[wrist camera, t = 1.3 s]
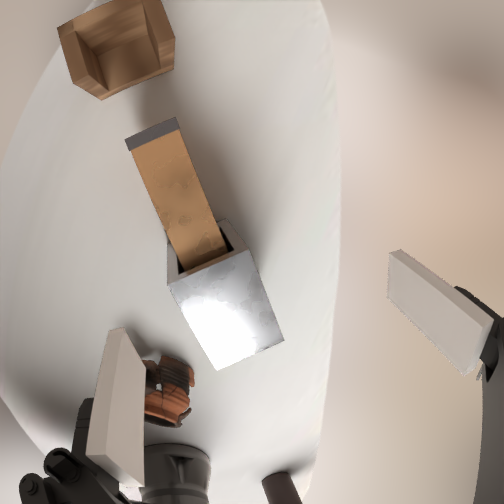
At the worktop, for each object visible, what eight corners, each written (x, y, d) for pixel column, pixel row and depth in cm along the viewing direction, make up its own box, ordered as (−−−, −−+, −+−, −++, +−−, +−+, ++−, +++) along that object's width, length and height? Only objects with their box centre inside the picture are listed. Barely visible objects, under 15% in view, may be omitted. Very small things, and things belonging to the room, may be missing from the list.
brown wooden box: (101, 100, 26) (72, 83, 16) (87, 58, 23) (56, 27, 14) (173, 69, 26) (175, 37, 17) (157, 27, 24) (154, -15, 15)
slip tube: (211, 310, 34) (220, 342, 29) (134, 140, 26) (124, 139, 21) (245, 295, 35) (260, 324, 29) (174, 122, 26) (175, 117, 21)
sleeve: (203, 315, 37) (216, 370, 27) (167, 244, 33) (167, 285, 23) (256, 292, 37) (284, 340, 28) (226, 218, 33) (249, 249, 24)
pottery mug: (209, 380, 41) (199, 433, 35) (156, 378, 44) (144, 425, 38) (167, 337, 34) (149, 402, 28) (110, 338, 36) (90, 392, 30)
